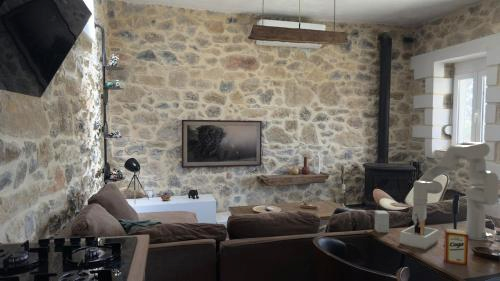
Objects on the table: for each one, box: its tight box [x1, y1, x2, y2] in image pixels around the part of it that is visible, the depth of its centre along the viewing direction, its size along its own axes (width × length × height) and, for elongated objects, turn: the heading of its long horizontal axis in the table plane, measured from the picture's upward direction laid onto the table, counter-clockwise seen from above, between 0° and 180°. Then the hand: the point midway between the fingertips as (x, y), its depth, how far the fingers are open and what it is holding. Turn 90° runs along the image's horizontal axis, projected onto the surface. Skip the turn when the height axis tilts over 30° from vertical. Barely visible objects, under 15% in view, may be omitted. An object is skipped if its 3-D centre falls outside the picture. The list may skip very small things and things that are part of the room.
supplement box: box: [374, 210, 390, 233], centre depth 226 cm, size 7×7×13 cm
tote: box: [399, 225, 439, 250], centre depth 204 cm, size 20×14×7 cm
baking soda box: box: [443, 228, 469, 266], centre depth 175 cm, size 10×6×16 cm
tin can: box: [415, 219, 425, 236], centre depth 204 cm, size 5×5×10 cm
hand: (419, 231), depth 204 cm, fingers closed on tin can, 5 cm apart
